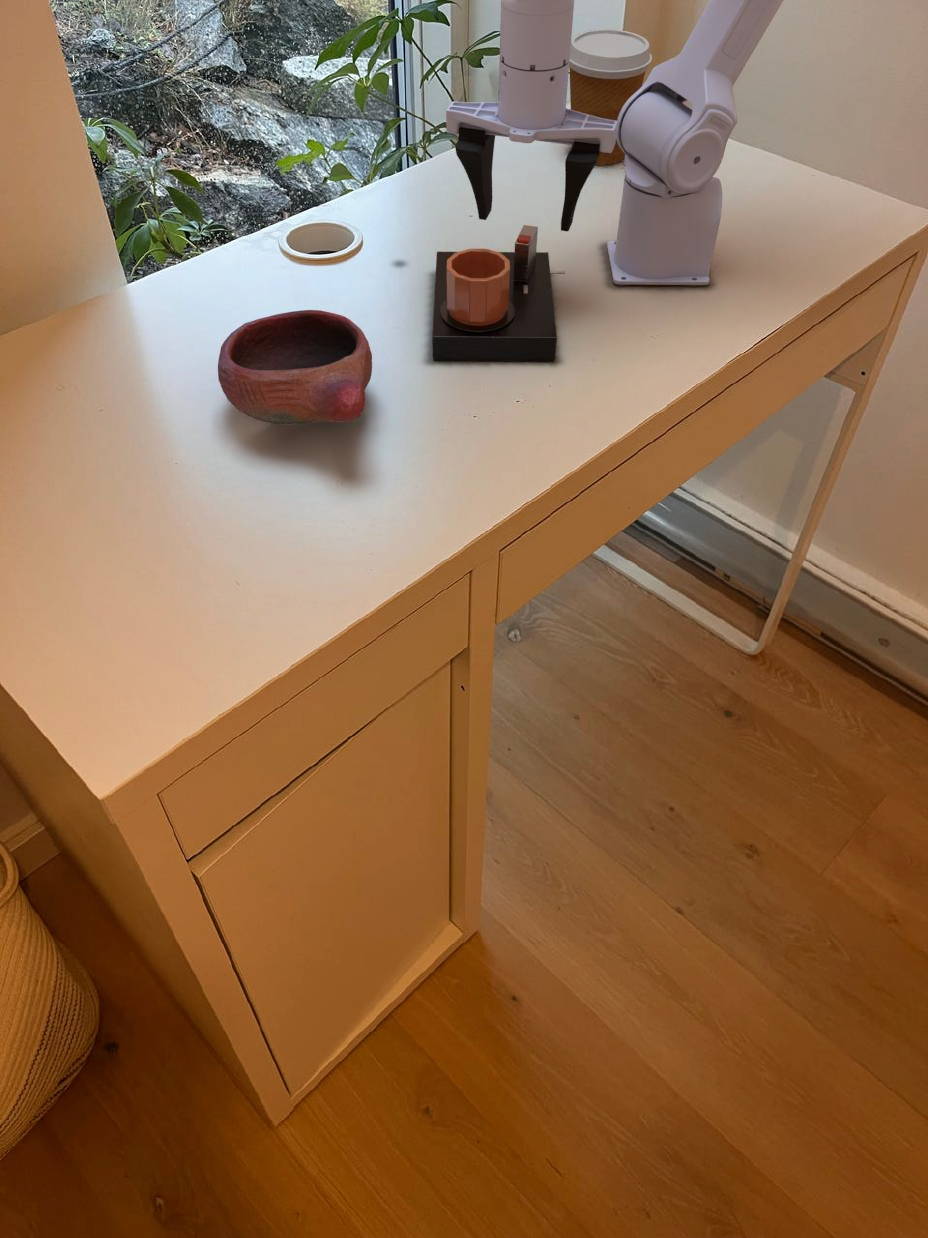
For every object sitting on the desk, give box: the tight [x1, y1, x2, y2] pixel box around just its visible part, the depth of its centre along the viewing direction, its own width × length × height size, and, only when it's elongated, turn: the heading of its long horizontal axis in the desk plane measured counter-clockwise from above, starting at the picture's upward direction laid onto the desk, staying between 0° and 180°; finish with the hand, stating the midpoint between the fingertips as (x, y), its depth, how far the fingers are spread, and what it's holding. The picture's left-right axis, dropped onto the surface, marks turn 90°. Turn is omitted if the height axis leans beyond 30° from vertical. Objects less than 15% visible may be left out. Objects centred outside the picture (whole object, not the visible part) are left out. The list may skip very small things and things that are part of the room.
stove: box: [431, 251, 566, 363], centre depth 92 cm, size 12×15×3 cm
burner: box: [440, 299, 515, 333], centre depth 88 cm, size 7×7×1 cm
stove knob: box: [513, 224, 539, 282], centre depth 91 cm, size 4×1×4 cm, turn 165°
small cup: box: [447, 248, 510, 326], centre depth 87 cm, size 6×6×4 cm
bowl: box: [217, 309, 373, 425], centre depth 79 cm, size 16×13×8 cm
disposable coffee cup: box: [569, 28, 653, 166], centre depth 111 cm, size 10×10×12 cm
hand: (525, 220), depth 89 cm, fingers open, 7 cm apart
